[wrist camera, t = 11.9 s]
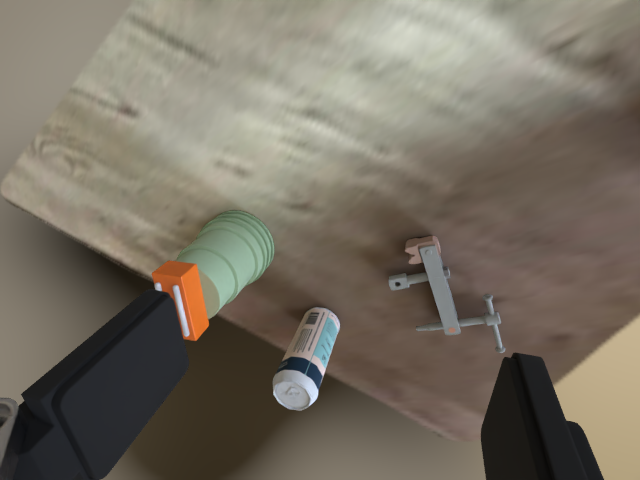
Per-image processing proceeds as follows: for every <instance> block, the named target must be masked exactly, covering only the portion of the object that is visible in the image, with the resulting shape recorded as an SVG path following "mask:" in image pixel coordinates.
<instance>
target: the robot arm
mask: <svg viewBox="0 0 640 480" xmlns="http://www.w3.org/2000/svg"><path fill="white" fill-rule="evenodd" d="M188 366H189V359H188V355H187V351H186V347H185V343H184V339H183V335H182V331H181V327H180V322H179V318H178V314H177V310H176V306H175V302H174V299H173V298H171V296H170V294H169V293H168V292H164V291H158V290H152V289H150V290H147V291H145V292H144V293H142V294H141V295H140V296H139V297H138V298H136V299H135V300H134V301H133V302H131V303H130V304H129V305H128V306H127V307H125V308H124V309H123V310H122V311H121V312H119V313H118V314H117V315H116V316H115V317H113V318H112V319H111V320H110V321H109V322H108V323H106V324H105V325H104V326H103V327H102V328H100V329H99V330H98V331H97V332H96V333H94V334H93V335H92V336H91V337H89V338H88V339H87V340H86V341H85V342H83V343H82V344H81V345H80V346H78V347H77V348H76V349H75V350H74V351H72V352H71V353H70V354H69V355H68V356H66V357H65V358H64V359H63V360H62V361H60V362H59V363H58V364H57V365H56V366H54V367H53V368H52V369H51V370H50V371H48V372H47V373H46V374H45V375H44V376H42V377H41V378H40V379H39V380H38V381H36V382H35V383H34V384H33V385H31V386H30V387H29V388H28V389H27V390H25V391H24V392H23V393H22V394H21V395H22V397H23V399H24V400H25V401H24V402H23V403H22V404H20V405H19V406H18V404H17V403H16V401H15V400H13V399H10V398H0V480H100V479H103V478H104V477H105V476H107V474H108V473H109V472H110V471H111V469H112V468H113V467H114V466H115V464H116V463H117V462H118V460H119V459H120V458H121V456H122V455H123V454H124V452H125V451H126V450H127V449H128V447H129V446H130V445H131V443H132V442H133V441H134V440H135V438H136V437H137V436H138V434H139V433H140V432H141V430H142V429H143V428H144V426H145V425H146V424H147V423H148V421H149V420H150V419H151V417H152V416H153V415H154V413H155V412H156V411H157V410H158V408H159V407H160V406H161V404H162V403H163V402H164V400H165V399H166V398H167V396H168V395H169V394H170V392H171V391H172V390H173V389H174V387H175V386H176V385H177V383H178V382H179V381H180V379H181V378H182V377H183V376H184V374H185V373H186V371H187V369H188ZM481 444H482V451H483V459H484V467H485V474H486V480H604V479H603V476H602V474H601V471H600V469H599V466H598V464H597V462H596V459H595V457H594V455H593V452H592V449H591V447H590V445H589V442H588V440H587V437H586V435H585V433H584V431H583V429H582V428H581V427H580V426H579V425H578V423H575V422H571V421H566V419H565V417H564V414H563V411H562V409H561V406H560V403H559V401H558V398H557V395H556V393H555V390H554V387H553V385H552V382H551V379H550V377H549V374H548V371H547V369H546V366H545V363H544V361H543V359H542V358H541V357H538V356H532V355H526V354H520V353H513V355H512V357H511V358H508V357H504V359H503V361H502V364H501V367H500V370H499V374H498V377H497V380H496V383H495V386H494V390H493V393H492V396H491V399H490V402H489V405H488V409H487V412H486V415H485V418H484V421H483V424H482V428H481Z"/></svg>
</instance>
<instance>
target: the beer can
mask: <svg viewBox="0 0 640 480" xmlns="http://www.w3.org/2000/svg"><path fill="white" fill-rule="evenodd" d="M339 329H340V323H339V320H338V318H337V317H336V315H335V314H334V313H332V312H331V311H330V310H328V309H325V308H318V307H316V308H312V309H310V310H308V311H307V312H306V313H305V315H304V317H303V319H302V321H301V323H300V325H299V327H298V329H297V331H296V333H295V335H294V337H293V339H292V342H291V344H290V346H289V348H288V350H287V352H286V354H285V356H284V358H283V360H282V362H281V364H280V366H279V368H278V371H277V372H276V375H275V376H274V379H273V391H274V393H273V394H274V396H275V397H276V399H277V400H278V402H279V403H280V404H282V405H284V406H285V407H287V408H288V409H293V410H299V411H301V410H303V409H305V408H307V407H309V406H310V405H311V404H312V403H313V402H315V400H316V399H317V396H318V391H319V388H320V385H321V382H322V379H323V375H324V373H325V369H326V366H327V363H328V360H329V357H330V354H331V351H332V348H333V345H334V342H335V339H336V336H337V333H338V332H339Z"/></svg>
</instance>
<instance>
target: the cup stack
mask: <svg viewBox="0 0 640 480" xmlns="http://www.w3.org/2000/svg"><path fill="white" fill-rule="evenodd" d="M273 256H274V242H273V239H272V236H271V234H270V232H269V230H268V229H267V228H266V226H265V225H264V224H263V223H262V222H261V221H260V220H259V219H257V218H256V217H255V216H253V215H251V214H249V213H246V212H243V211H237V210H232V211H227V212H224V213H222V214H220V215H219V216H217V217H216V218H215V219H213V220H212V221H210V222H209V223H207V224H206V225H205V226H204V227H203V228H202V230H201V231H200V233H199V235H198V236H197V238H196V240H195V241H194V242H193V243H191V244H190V245H189V246H187V247H186V248H185V249H183V250H182V251H181V252H180V254H179V255H178V257H177V260H176V261H177V262H186V263H194V264H197V268H198V273H199V278H200V283H201V288H202V293H203V297H204V302H205V307H206V312H207V317H208V319H209V318H211V317H213V316H214V315H215V314H216V313H217V312H218V311H219V310H220V309H221V307H222V306H223V305H224V304H227V303H229V302H231V301H232V300H233V299H234V298H235V297H236V296H237V294H238V293H239V292H240V291H241V290H242V288H243V287H245V286H247V285H249V284H250V283H252V282H254V281H256V280H257V279H258V278H259V277H260V276H261V275H262V273H263V272H264V271H265V270H266V268H267V267H268V266H269V265H270V263H271V261H272V259H273Z"/></svg>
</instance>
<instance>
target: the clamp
mask: <svg viewBox="0 0 640 480" xmlns="http://www.w3.org/2000/svg"><path fill="white" fill-rule="evenodd" d="M405 252H407V253H409V263H410V264H417V263H422V261H423V263H424V266H425V269H426V272H424V273H418V274H413V275H408V276H407V275H406V273H402V274H397V275H392V276H389V286H390V288H391V290H392V291H393V290H399V289H404V288H409V284H415V283H420V282H426V281H429V282H430V285H431V288H432V292H433V295H434V298H435V301H436V305H437V308H438V311H439V314H440V318H441V321H442V322H436V323H429V324H427V325H423V326H416V329H417V331H421V330H429V331H430V330H438V329H444V331H445V334H446V335H456V334H459V333H461V332H460V328H459V327H461V326H469V325H476V324H484V323H487V326H488V325H492V328H493V332H494V336H495V340H496V344H497V347H496V351H497V352H499V353H502V352H504V351H505V347H504V346H502V343H501V339H500V335H499V331H498V327H497V324H500V323H501V320H500V316H499V313H498V312H494V310H493V306H492V302H491V299H492V298H493V296H492V295H490V294H485V295H484V296H483V297H482V298H483V300H485V301H486V304H487V308H488V312H489V313H484V314H485V316H480V317H473V318H465V319H458V316H457V312H456V309H455V305H454V302H453V299H452V295H451V292H450V288H449V285H448V281H447V279H448V278H450V272H449V269H448V267H443V264H442V260H441V257H440V254H441V250H440V245H439V242H438V238H437V237H435V236H433V235H432V236H428V237H423V238H419V239H418V238H413V239H409V240H407V241H406V245H405Z"/></svg>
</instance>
